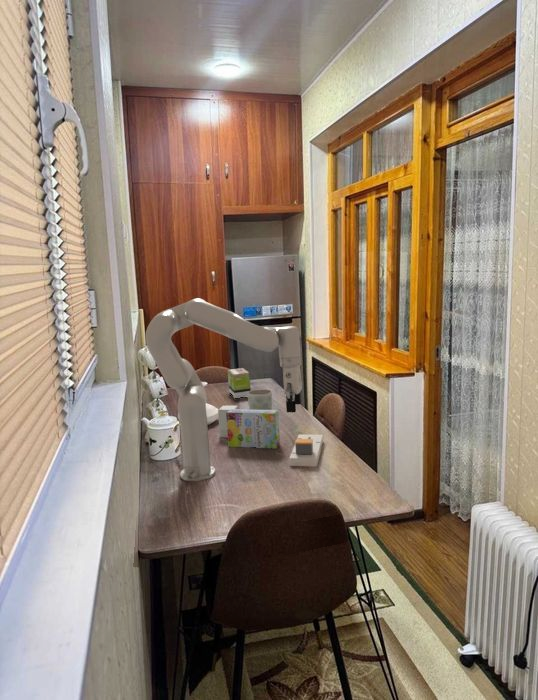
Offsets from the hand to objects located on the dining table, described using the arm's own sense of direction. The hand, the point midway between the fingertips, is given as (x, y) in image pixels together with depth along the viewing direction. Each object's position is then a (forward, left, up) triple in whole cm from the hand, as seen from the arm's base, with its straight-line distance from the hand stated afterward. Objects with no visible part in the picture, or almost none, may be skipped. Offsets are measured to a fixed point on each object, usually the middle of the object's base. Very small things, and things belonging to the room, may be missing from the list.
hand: (293, 408), depth 177 cm
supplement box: (+34, +35, -22) cm, 53 cm away
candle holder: (+51, +55, -22) cm, 78 cm away
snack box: (+21, +21, -22) cm, 37 cm away
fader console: (+14, -2, -22) cm, 26 cm away
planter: (+68, +28, -22) cm, 76 cm away
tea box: (+103, +48, -22) cm, 115 cm away
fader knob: (+6, -2, -19) cm, 20 cm away
